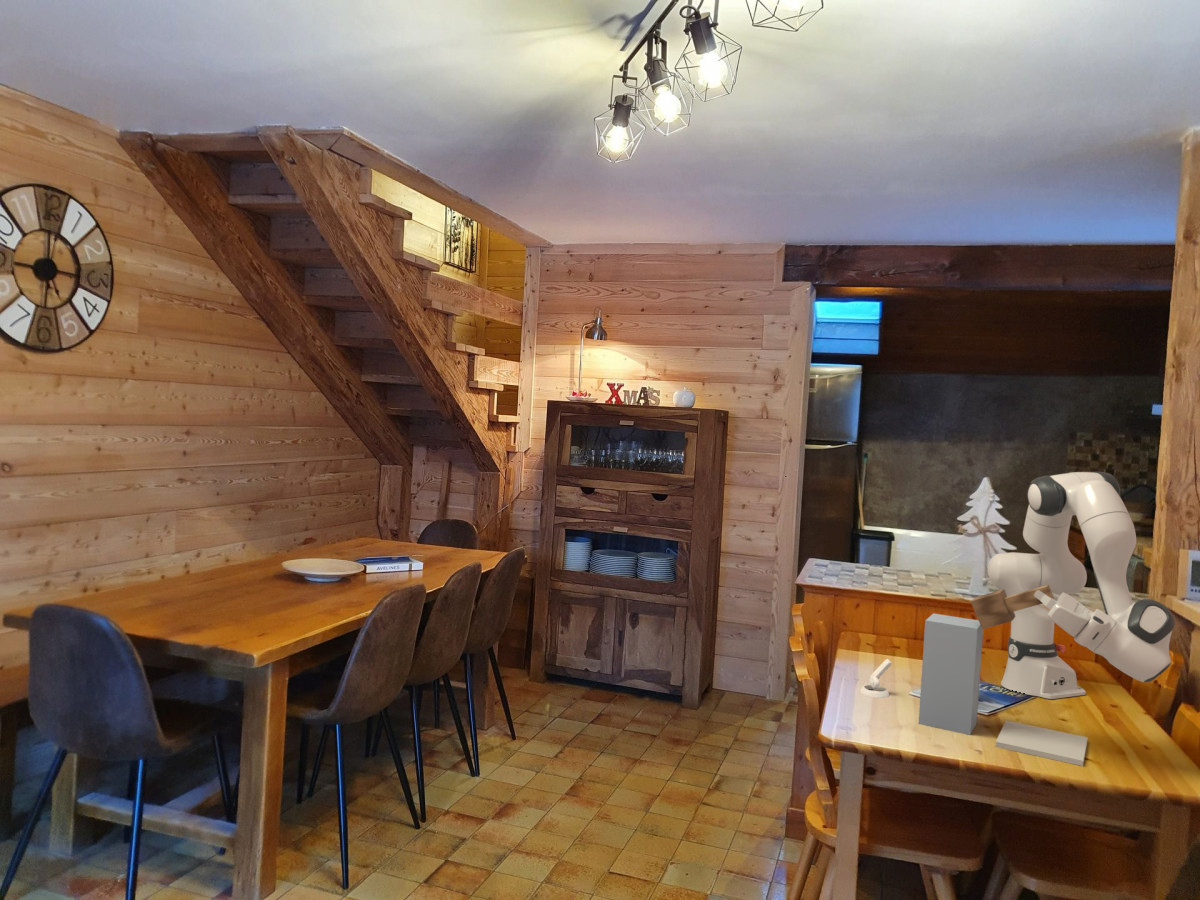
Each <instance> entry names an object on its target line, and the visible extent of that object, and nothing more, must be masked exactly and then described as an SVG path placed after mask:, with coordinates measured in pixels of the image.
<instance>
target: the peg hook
mask: <svg viewBox="0 0 1200 900" xmlns="http://www.w3.org/2000/svg"><path fill="white" fill-rule="evenodd" d="M1037 590H1041V591H1042V592H1044V593H1045V594H1046V595H1047V596H1049V597H1050V598H1052V599H1054V596H1053V594H1052V592H1051V589H1050V587H1049V585H1046V586H1042V587H1039V588H1035V589H1032V590H1028V591H1025V592H1022V593H1018V594H1015V595H1011V596H1008V597H1007V595H1006V593H1005V590H1004V589H1002V590H999V589H998V590H996V591H992V592H988V593H985V594H983V595H979V596H975V597H974V598H973V599H972V600H971V601H970V603H971V606H972V608H973V610H974V612H975V615H976V617H977V620H979V623H980V625H981V627H982V629H983V630H985V629H989V628H992V627H996V626H999V625H1003V624H1006V623H1011V621H1012V620H1013V619H1014V618H1015V617H1016V616H1015V614H1014V611H1018V610H1021V609H1025V608H1028V607H1032V606H1035V605H1039V604H1040V605H1044V604H1043V603H1042V602H1041V601H1040V600H1039V599H1037V598H1036V597H1034V594H1035V592H1036V591H1037Z"/></svg>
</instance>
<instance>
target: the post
mask: <svg viewBox="0 0 1200 900" xmlns="http://www.w3.org/2000/svg"><path fill="white" fill-rule="evenodd" d="M924 622H925V623H924V632H923V633H924V636H923V650H922V651H923V652H922V653H923V654H922V665H921V667H922V668H921V683H920V697H919V711H918V712H919V713H918V724H919V725H923V726H928V727H932V728H935V729H936V728H937V729H941V730H947V731H951V732H955V733H959V734H964V735H969V736H971V734H972V732H973V731H974V729H975V727H976V725H977V724H978V713H979V712H978V710H979V709H978V708H979V697H980V682H981V681H980V680H981V668H982V667H981V666H982V653H983V652H982V651H983V639H984V636H983V635H984V629H982V627H981V625H980V623H979V620H978V619H972V618H964V617H960V616H959V617H958V616H954V615H952V616H951V615H947V614H940V613H939V614H938V613H935V612H934V613H931V615H929V617H927V618H926V619H925V621H924Z"/></svg>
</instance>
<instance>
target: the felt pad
mask: <svg viewBox="0 0 1200 900" xmlns="http://www.w3.org/2000/svg"><path fill="white" fill-rule="evenodd" d="M1088 738H1089V737H1087V736H1083V735H1078V734H1073V733H1068V732H1064V731H1059V730H1054V729H1049V728H1044V727H1039V726H1036V725H1035V726H1034V725H1030V724H1025V723H1019V722H1017V721H1010V720H1005V721H1004V723H1003V726H1002V728H1001V730H1000V731H999V733H998V736H997V738H996V740H995V748H1000V749H1004V750H1009V751H1013V752H1018V753H1021V754H1027V755H1032V756H1035V757H1040V758H1045V759H1050V760H1054V761H1058V762H1063V763H1067V764H1071V765H1076V766H1081V767H1084V763H1085V757H1086V751H1087V746H1088V740H1089V739H1088Z"/></svg>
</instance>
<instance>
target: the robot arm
mask: <svg viewBox="0 0 1200 900" xmlns="http://www.w3.org/2000/svg"><path fill="white" fill-rule="evenodd" d="M1026 495H1027V501H1028V506H1027V510H1026V515H1025V520H1024V525H1023V529H1022V530H1023V531H1022V536H1023V539H1024V541H1025V542H1026V544H1027V545H1028V546H1029V547H1030V548H1032V549H1033V550H1035V552H1036V551H1037V552H1038V553H1027V552H1025V553H1024V552H1016V551H1015V552H1014V551H1012V552H1002V553H996V554H994V555H993V556H992V557H991V559H990V560H989V562H988V564H987V571H986V572H987V573H986V574H987V576H988V579H989V581H990V583H991V584H992V585H993V587H995V588H997V590H998V591H999V590H1002V589H1004V590H1005V593H1006V595H1007V597H1008V596H1011V595H1015V594H1018V593H1022V592H1025V591H1028V590H1032V589H1035V588H1039V587H1042V586H1046V585H1049V587H1050V589H1051V592H1052V594H1053V596H1054V599H1052V598H1050V597H1049V596H1047V595H1046V594H1045V593H1044V592H1042V591H1041V590H1037V591H1036V592H1035V594H1034V597H1036V598H1037V599H1039V600H1040V601H1041V602H1042V603H1043V604H1039V605H1035V606H1032V607H1028V608H1025V609H1021V610H1018V611H1014V614H1015V616H1016V617H1015V618H1014V619H1013V620H1012V621H1011V622H1010V636H1009V637H1008V641H1007V642H1008V643H1007V653H1008V656H1007V662H1006V667H1005V669H1004V674H1003V678H1002V679H1001V682H1000V685H1001V686H1002V687H1003V688H1005V689H1007V690H1010V691H1012V690H1013V691H1012V692H1015V691H1017V692H1016V693H1019V692H1021V693H1020V694H1023V693H1025V694H1024V695H1028V696H1033V697H1034V696H1036V697H1039V698H1040V697H1041V698H1044V699H1048V700H1055V699H1062V698H1069V697H1078V696H1084V695H1086V690H1085V689H1084V688H1082V687H1081V686H1079V685H1078V681H1077V674H1076V671H1075V669H1074V668H1072V667H1071V666H1070V665H1069V664H1067V662H1065V661H1064V660H1063V659H1062V658H1061V657H1059V654H1058V652H1061V653H1065V651H1066V650H1067V649H1066V648H1067V646H1065V645H1063V644H1060V643H1058V644H1056V643H1055V642H1054V636H1055V635H1054V634H1055V625H1057V626H1058V627H1060V628H1061V629H1062V630H1063V631H1065V632H1066V633H1067V634H1068V635H1070V636H1072V637H1073V639H1074V641H1075V642H1076V644H1079V646H1082V647H1085V648H1087V649H1088V650H1090V651H1091V652H1093V653H1094V654H1096V655H1100V656H1101V657H1103V658H1104V659H1106V660H1107V662H1108V663H1109V664H1110V665H1112V666H1113V667H1114V668H1116V669H1118V670H1119V671H1121V672H1122V673H1124V674H1125V675H1127V676H1129V677H1131V678H1132V679H1134V680H1137V681H1139V682H1142V683H1150V682H1152V681H1154V680H1155V679H1156V678H1158V677H1159V676H1160V675H1161V674H1163V673H1164V672H1165V671H1166V670H1168V668H1169V667H1170V666H1171V663H1172V660H1171V656H1170V642H1171V637H1172V633H1173V630H1174V628H1175V625H1176V624H1175V622H1176V621H1175V618H1174V615H1173V613H1172V612H1171V610H1169V608H1168V607H1167V605H1164V604H1163V603H1161V602H1159V601H1157V600H1155V599H1151V598H1142V599H1139V600H1137V601H1135V602H1133V599H1132V596H1131V594H1130V590H1129V587H1128V583H1127V571H1128V567H1129V563H1130V560H1131V558H1132V555H1133V553H1134V551H1135V548H1136V545H1137V535H1136V529H1135V526H1134V523H1133V520H1132V518H1131V516H1130V513H1129V511H1128V509H1127V507H1126V505H1125V503H1124V501H1123V499H1122V498H1121V487H1120V484H1119V482H1118V480H1117V479H1116V477H1115V476H1114V475H1113V474H1111V473H1108V472H1104V471H1097V470H1096V471H1076V472H1075V471H1074V472H1067V473H1060V474H1053V475H1043V476H1039V477H1036V478H1034V479H1033V480H1031V481H1030V482H1029V485H1028V488H1027V493H1026ZM1073 516H1076V519H1077V522H1078V525H1079V528H1080V530H1081V533H1082V535H1083V538H1084V541H1085V545H1086V547H1087V550H1088V553H1089V557H1090V561H1091V565H1092V569H1093V576H1094V578H1095V582H1096V586H1097V589H1098V592H1099V596H1100V599H1101V603H1102V606H1103V609H1104V611H1102V610H1101V609H1099V608H1095V610H1094V611H1092V610H1091V609H1089V608H1088V607H1086V606H1085V605H1084V604H1082V603H1081V602H1080V601H1078V600H1077V599H1075V598H1074V597H1073V596H1071V595H1073V594H1079V593H1080V592H1081V591H1082V590H1083V589H1084V588H1085V586H1086V583H1087V580H1088V579H1087V578H1088V575H1087V573H1088V572H1087V570H1086V567H1085V565H1084V564H1083V563H1082V562H1081V560H1079V559H1077V558H1076V557H1075V555H1073V554H1072V553H1071V551H1070V548H1069V545H1068V540H1069V534H1070V528H1071V524H1072V523H1071V522H1072V518H1073Z"/></svg>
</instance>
